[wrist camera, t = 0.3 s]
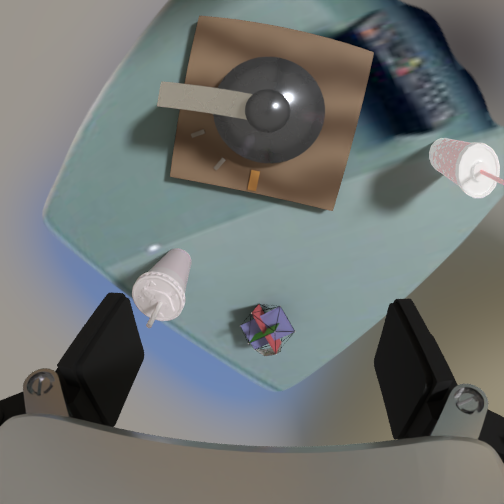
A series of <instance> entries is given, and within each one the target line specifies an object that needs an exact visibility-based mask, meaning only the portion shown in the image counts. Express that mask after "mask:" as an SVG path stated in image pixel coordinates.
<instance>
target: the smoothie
mask: <svg viewBox="0 0 504 504" xmlns="http://www.w3.org/2000/svg"><path fill="white" fill-rule="evenodd" d="M190 267H191V258H190V256H189V254H188V253H187V252H186V251H184V250H182V249H179V248H175V249H172V250H170V251H169V252H168V253H167V254H166V255H165V256H164V257H163V258H162V259H161V260H159V261H158V262H157V263H156V264H155V265H154V266H153V267H152V268H151V269H150V270H149V271H148V272H146V273H144V274H142V275H140V277H139V278H138V279H137V280H136V282H135V284H134V286H133V289H132V297H133V300H134V303H135V304H136V306H137V307H138V309H139V310H140V311H141V312H142V313H144V314H145V315H146V316H148V317H150V319H149V321H148V323H147V325H146V326H147V327H148V328H151V327H152V324H153V322H154V320H159V321H168V320H172V319H174V318H176V317H177V316H178V315H179V314H180V313H181V311H182V309H183V307H184V305H185V289H186V285H187V280H188V276H189V271H190Z"/></svg>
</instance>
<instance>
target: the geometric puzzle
mask: <svg viewBox="0 0 504 504" xmlns="http://www.w3.org/2000/svg"><path fill="white" fill-rule="evenodd" d="M260 305H261V304H259V305H258V306H257V307H256V308H255V309H254V310H253V311H252V313H251V314H252V315H253V317H254V319H253V320H251V318H250V321H249V322H247V323H245V324H243V325H242V324H241V325H240V326H241V329H242V331H244V333H245V335H246V336H247V338H248V344H249V343H251V344H252V346H253V347H252V348H253V349H254V350H256V351H258V352H259V353H261V354H262V355H264V356H269V355H276V354H277V353H279V352H281V348H282V347H281V343H282V342H283V341H284V340H283V341H282V339H281V341H280V338H282V337H284V336H286V335H288V334H291V333H292V335H293V333H294V332H295V330H294V329H293V327H292V325H291V323H290V322H289V320H288V318H287V317H286V315H285V313H284V311H283V310H282V308H281V306H278V308H276V307H274V308H276V309H274V310H272V308H269V309H271V311H269V312H267V313H264V312H263V311H264V310H262V308H261V307H260ZM263 305H264V304H263ZM263 305H262V306H263ZM273 306H275V305H273ZM264 307H265V306H264ZM266 308H267V307H266ZM266 310H268V309H266ZM248 317H249V316H248ZM248 317H247V318H248ZM247 318H246V319H247ZM292 335H291V336H292ZM288 337H289V336H288ZM288 337H287V338H288ZM245 338H246V337H245ZM246 340H247V339H246ZM249 341H250V342H249ZM287 341H288V340H287ZM287 341H286V342H287ZM268 343H269V344H270V345H269V346H271V348H269V349H261V348H263V347H262V346H264V345H266V344H268ZM251 344H250V345H251ZM259 347H261V348H260V349H259ZM265 347H267V346H265Z"/></svg>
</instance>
